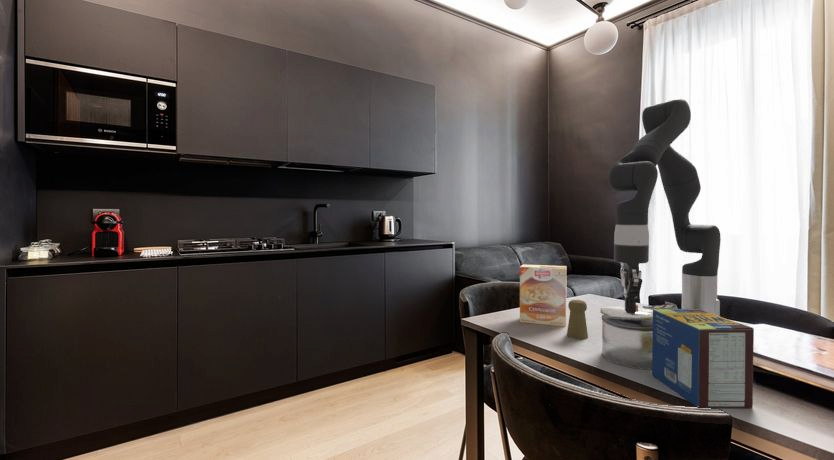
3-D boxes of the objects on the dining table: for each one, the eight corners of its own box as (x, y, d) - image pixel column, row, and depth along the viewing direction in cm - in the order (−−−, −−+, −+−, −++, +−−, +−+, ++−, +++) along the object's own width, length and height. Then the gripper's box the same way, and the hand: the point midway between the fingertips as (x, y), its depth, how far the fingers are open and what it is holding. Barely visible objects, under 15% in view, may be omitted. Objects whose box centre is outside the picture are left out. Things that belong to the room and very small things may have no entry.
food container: (662, 346, 107) (663, 310, 106) (641, 339, 112) (641, 306, 112) (687, 338, 112) (687, 305, 112) (665, 333, 118) (666, 301, 117)
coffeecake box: (519, 322, 131) (519, 266, 130) (522, 317, 138) (522, 263, 137) (566, 327, 125) (566, 268, 125) (566, 321, 132) (566, 265, 131)
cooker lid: (658, 312, 102) (658, 302, 102) (676, 322, 88) (676, 310, 88) (596, 308, 107) (596, 299, 107) (604, 317, 93) (604, 306, 93)
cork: (590, 339, 113) (590, 302, 112) (568, 338, 114) (568, 302, 113) (585, 333, 118) (585, 298, 118) (565, 332, 120) (565, 297, 119)
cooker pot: (656, 351, 103) (657, 314, 102) (673, 372, 89) (674, 330, 89) (598, 345, 107) (598, 310, 107) (605, 365, 94) (605, 325, 93)
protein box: (696, 374, 88) (697, 308, 87) (753, 409, 72) (755, 328, 72) (650, 374, 88) (651, 308, 87) (697, 408, 72) (699, 328, 72)
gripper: (655, 245, 87) (654, 320, 88) (642, 241, 100) (640, 307, 100) (619, 244, 90) (618, 317, 90) (610, 241, 102) (609, 305, 103)
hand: (630, 312), depth 95 cm, fingers closed
